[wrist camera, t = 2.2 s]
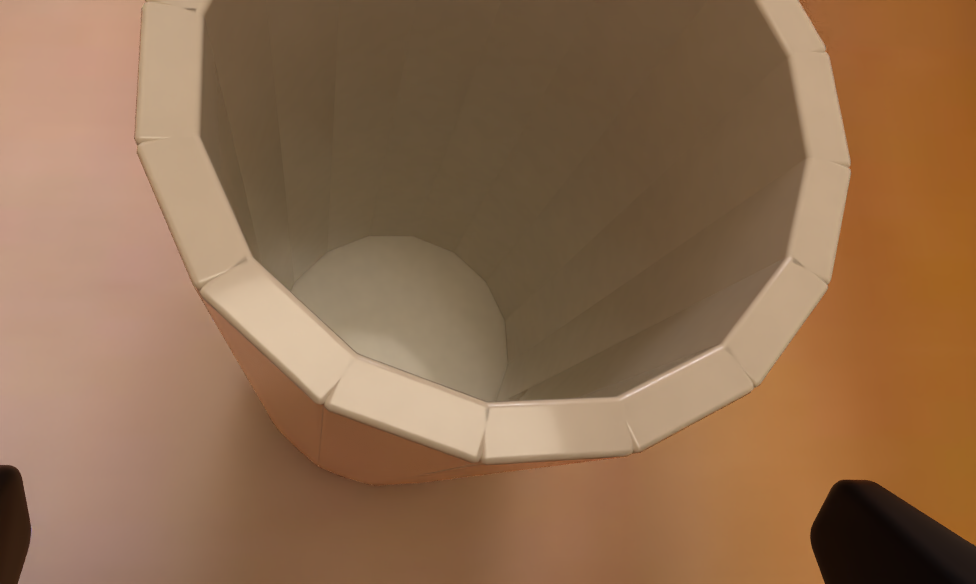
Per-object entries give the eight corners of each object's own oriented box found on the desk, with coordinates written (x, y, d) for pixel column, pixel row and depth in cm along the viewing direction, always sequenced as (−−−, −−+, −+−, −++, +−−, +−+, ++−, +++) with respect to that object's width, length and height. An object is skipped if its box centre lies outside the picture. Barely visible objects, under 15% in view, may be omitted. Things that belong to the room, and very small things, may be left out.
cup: (559, 413, 20) (965, 276, 7) (321, 534, 18) (335, 620, 5) (451, 194, 21) (652, -252, 8) (214, 284, 19) (17, -131, 6)
